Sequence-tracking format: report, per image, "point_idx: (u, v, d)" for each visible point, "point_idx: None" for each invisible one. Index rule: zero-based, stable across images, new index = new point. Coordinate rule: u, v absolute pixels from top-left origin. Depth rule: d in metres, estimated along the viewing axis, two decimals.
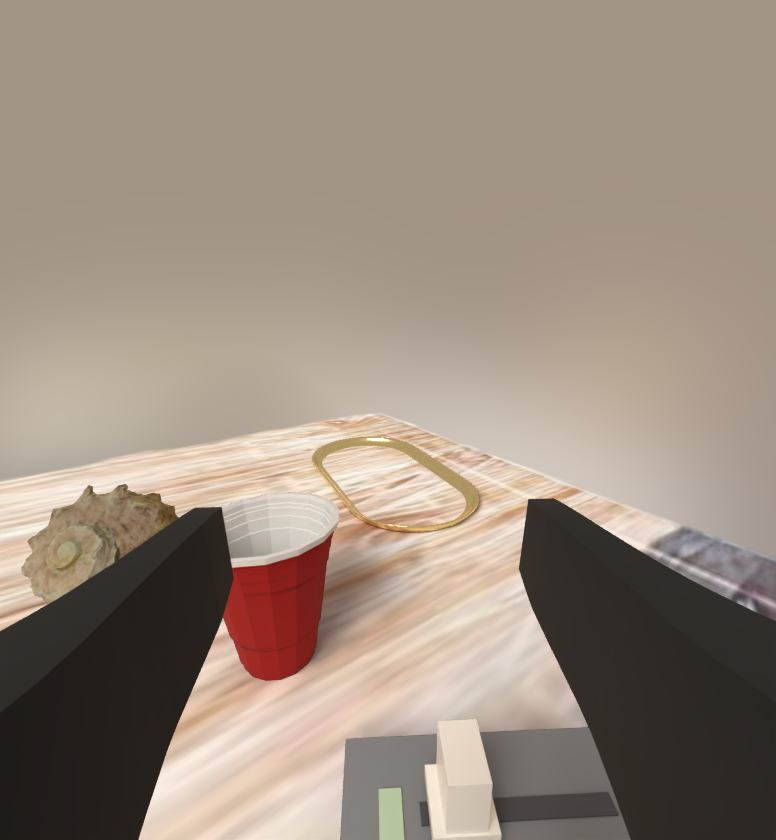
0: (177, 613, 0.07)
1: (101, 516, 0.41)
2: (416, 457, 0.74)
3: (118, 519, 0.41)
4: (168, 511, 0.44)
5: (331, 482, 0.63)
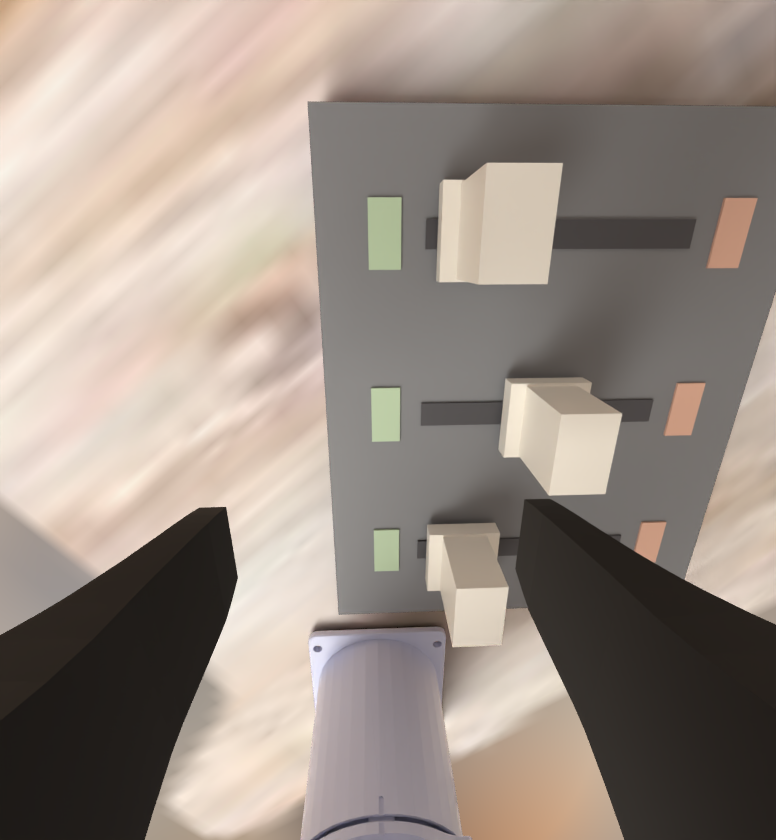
0: (183, 612, 0.07)
1: None
2: None
3: None
4: None
5: None
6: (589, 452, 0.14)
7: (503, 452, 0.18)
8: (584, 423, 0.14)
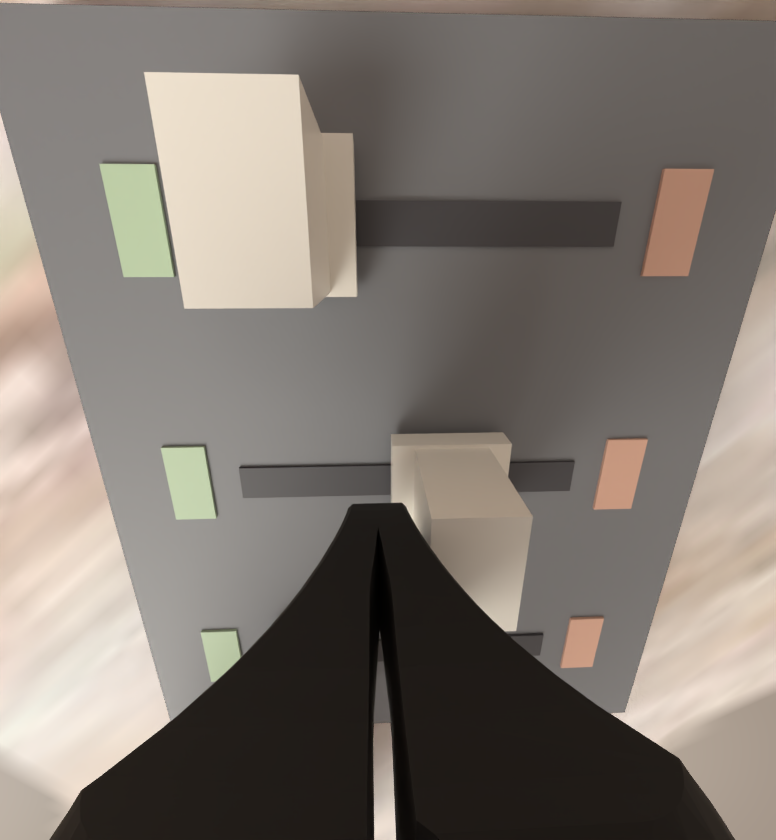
0: (375, 605, 0.08)
1: None
2: None
3: None
4: None
5: None
6: (485, 573, 0.09)
7: None
8: (472, 531, 0.08)
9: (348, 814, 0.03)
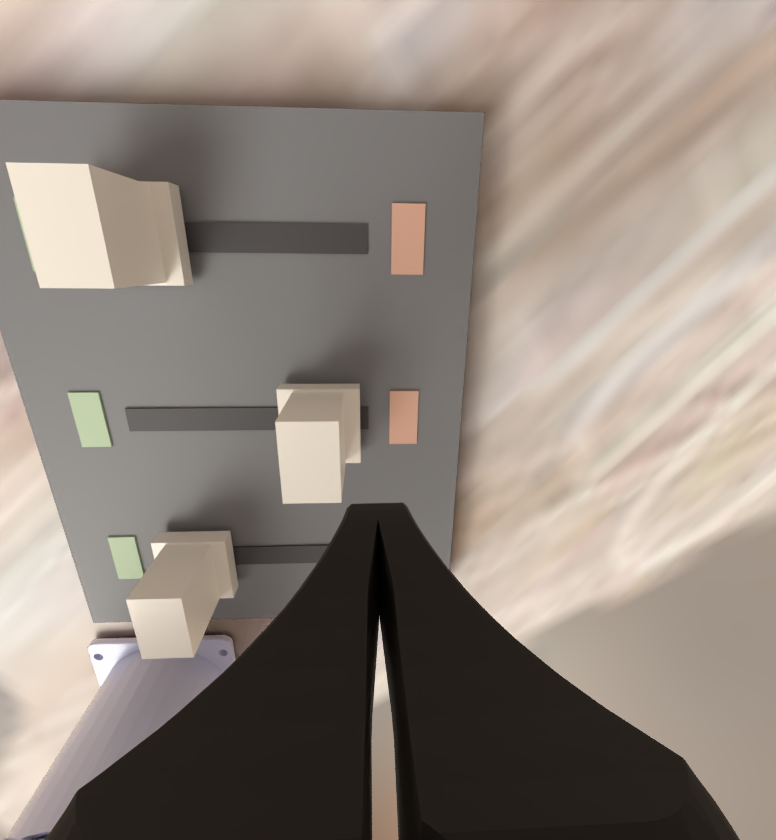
0: (373, 605, 0.08)
1: None
2: None
3: None
4: None
5: None
6: (314, 460, 0.14)
7: None
8: (301, 430, 0.13)
9: (344, 814, 0.03)
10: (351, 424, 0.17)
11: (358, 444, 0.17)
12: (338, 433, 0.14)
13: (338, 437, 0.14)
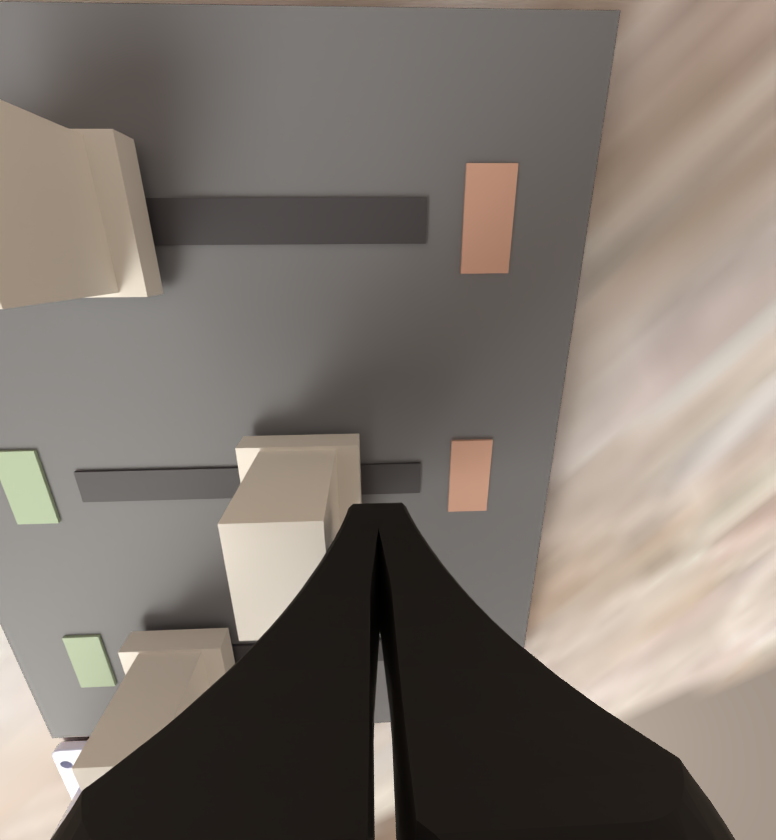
0: (375, 605, 0.08)
1: None
2: None
3: None
4: None
5: None
6: (286, 578, 0.08)
7: None
8: (262, 535, 0.08)
9: (349, 815, 0.03)
10: (348, 495, 0.12)
11: None
12: (324, 537, 0.08)
13: (324, 544, 0.08)
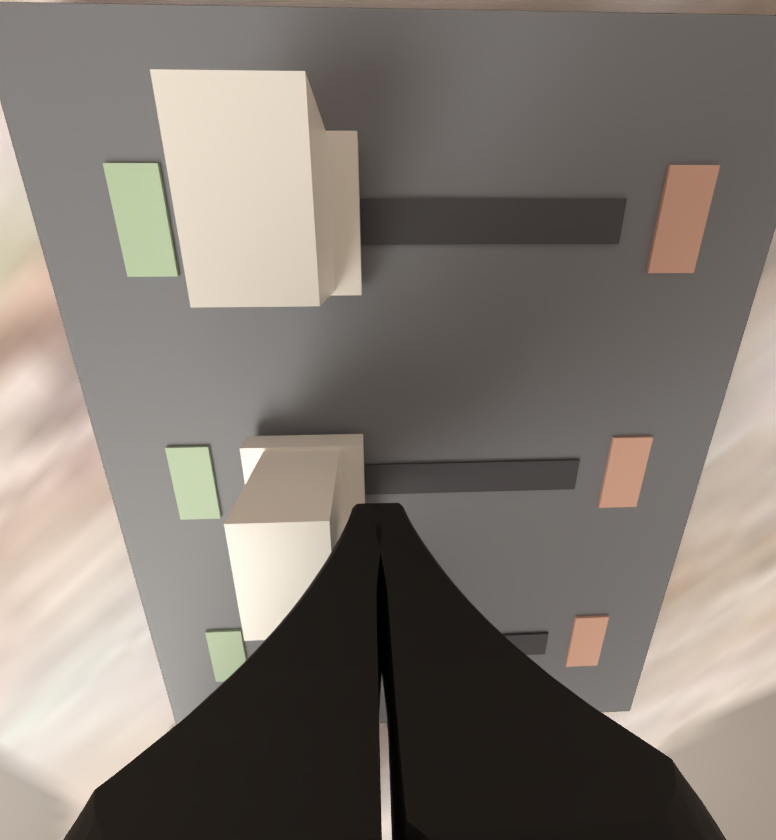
0: (380, 605, 0.08)
1: None
2: None
3: None
4: None
5: None
6: (291, 579, 0.09)
7: None
8: (268, 536, 0.08)
9: (363, 813, 0.03)
10: (352, 495, 0.12)
11: None
12: (329, 537, 0.08)
13: (329, 544, 0.08)
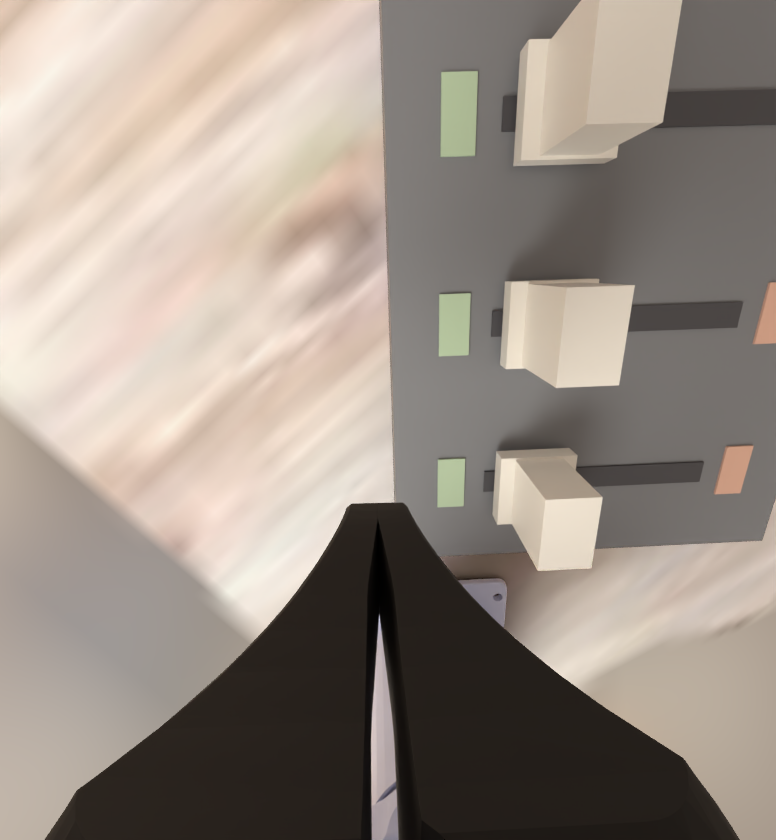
0: (373, 605, 0.08)
1: None
2: None
3: None
4: None
5: None
6: (600, 333, 0.13)
7: (505, 364, 0.16)
8: (592, 297, 0.12)
9: (343, 814, 0.03)
10: None
11: None
12: (629, 301, 0.12)
13: (629, 305, 0.12)
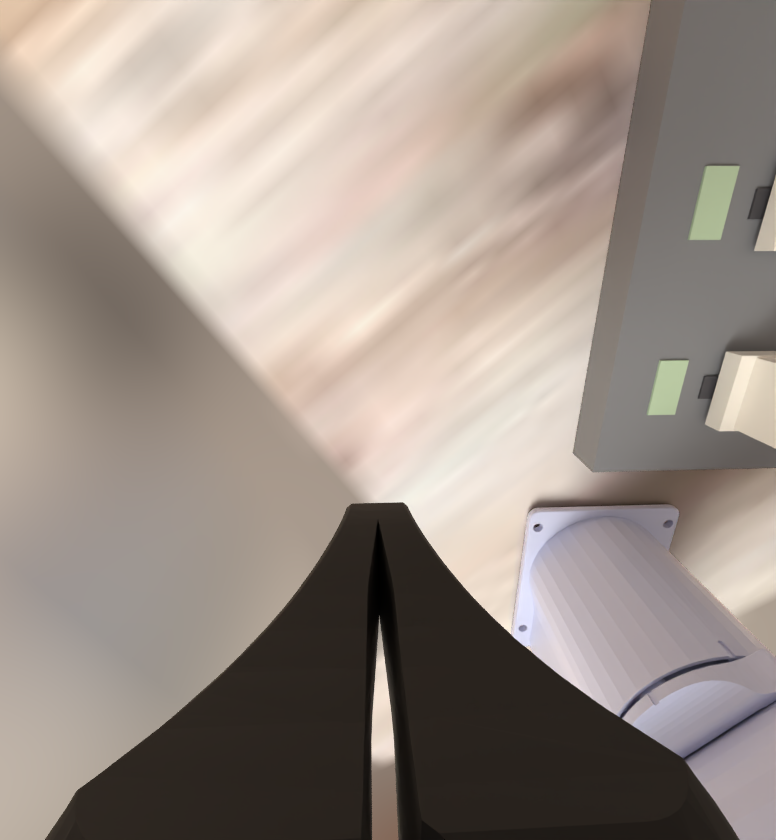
0: (373, 606, 0.08)
1: None
2: None
3: None
4: None
5: None
6: None
7: (771, 245, 0.15)
8: None
9: (343, 814, 0.03)
10: None
11: None
12: None
13: None
